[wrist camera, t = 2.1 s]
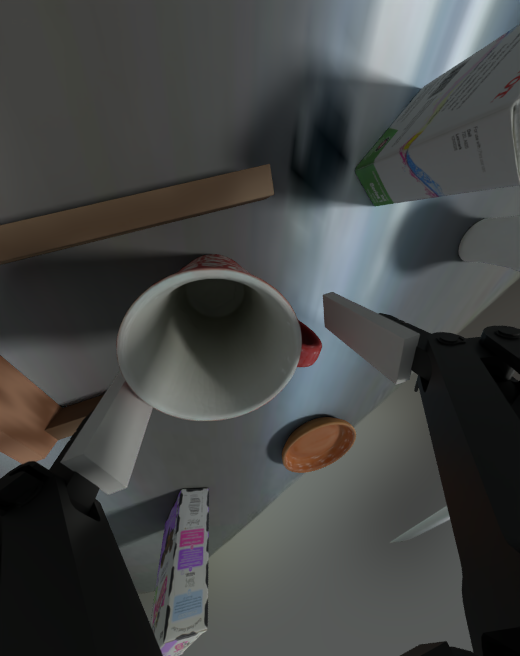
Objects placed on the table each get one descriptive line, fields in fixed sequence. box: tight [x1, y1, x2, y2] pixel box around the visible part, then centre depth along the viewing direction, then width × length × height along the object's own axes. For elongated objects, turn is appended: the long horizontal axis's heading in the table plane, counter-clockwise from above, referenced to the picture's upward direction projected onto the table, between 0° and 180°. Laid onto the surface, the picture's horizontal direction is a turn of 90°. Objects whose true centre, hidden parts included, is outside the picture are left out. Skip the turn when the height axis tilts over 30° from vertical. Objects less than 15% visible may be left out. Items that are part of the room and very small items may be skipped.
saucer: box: [282, 417, 356, 473], centre depth 39 cm, size 16×16×3 cm
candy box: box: [150, 488, 209, 656], centre depth 34 cm, size 14×6×16 cm, turn 156°
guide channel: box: [0, 164, 274, 464], centre depth 19 cm, size 20×32×5 cm, turn 103°
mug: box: [116, 254, 322, 421], centre depth 16 cm, size 13×9×14 cm
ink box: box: [355, 24, 520, 206], centre depth 14 cm, size 8×5×12 cm, turn 138°
